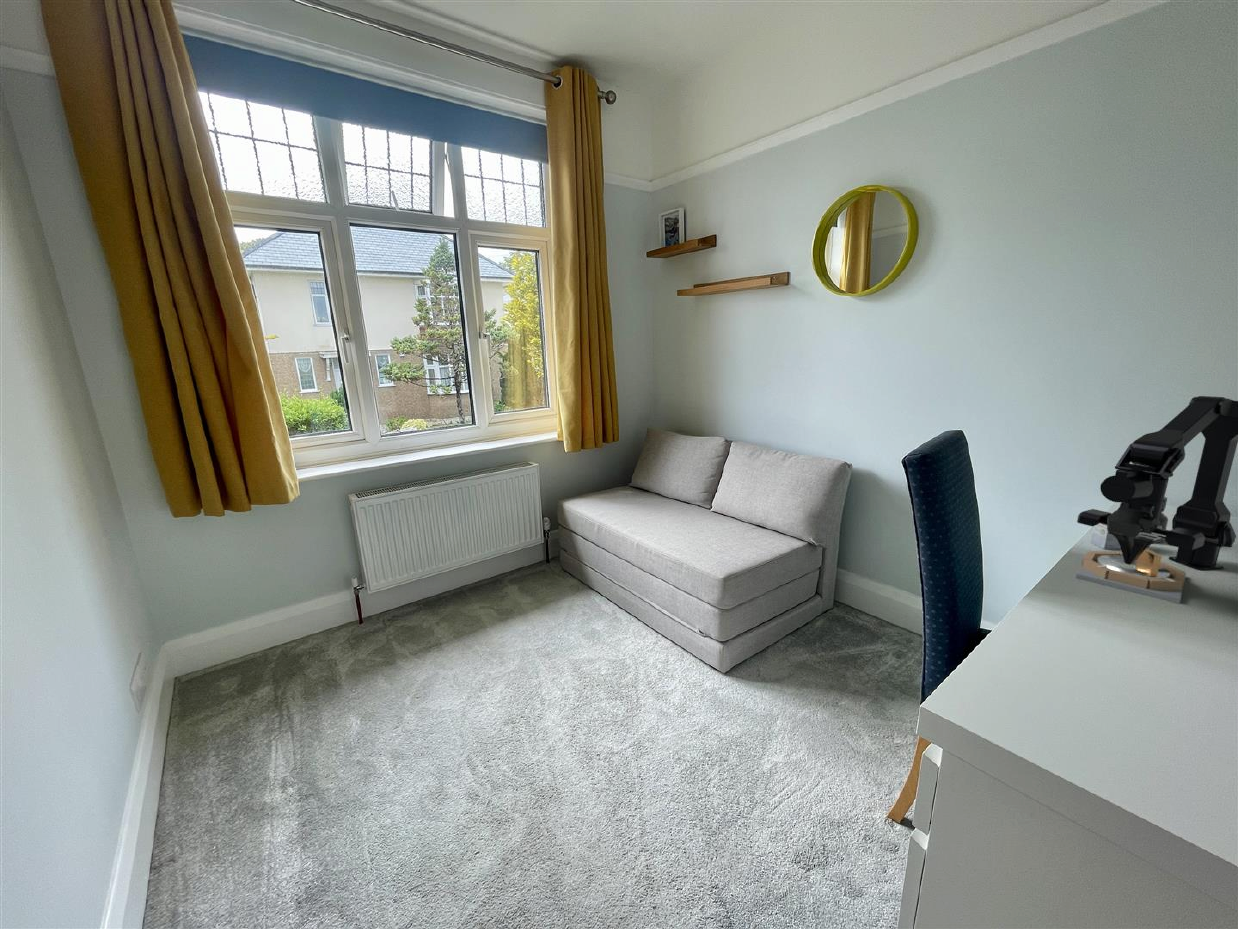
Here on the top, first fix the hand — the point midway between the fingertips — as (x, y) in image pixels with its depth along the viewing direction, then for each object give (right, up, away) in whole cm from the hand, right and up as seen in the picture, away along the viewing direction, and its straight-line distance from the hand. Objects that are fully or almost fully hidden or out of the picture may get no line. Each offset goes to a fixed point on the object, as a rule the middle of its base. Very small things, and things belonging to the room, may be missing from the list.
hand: (1128, 564), depth 109 cm
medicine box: (+17, 0, +21) cm, 27 cm away
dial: (+4, -3, +3) cm, 6 cm away
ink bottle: (+30, +2, +26) cm, 40 cm away
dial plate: (+4, -4, +4) cm, 7 cm away
